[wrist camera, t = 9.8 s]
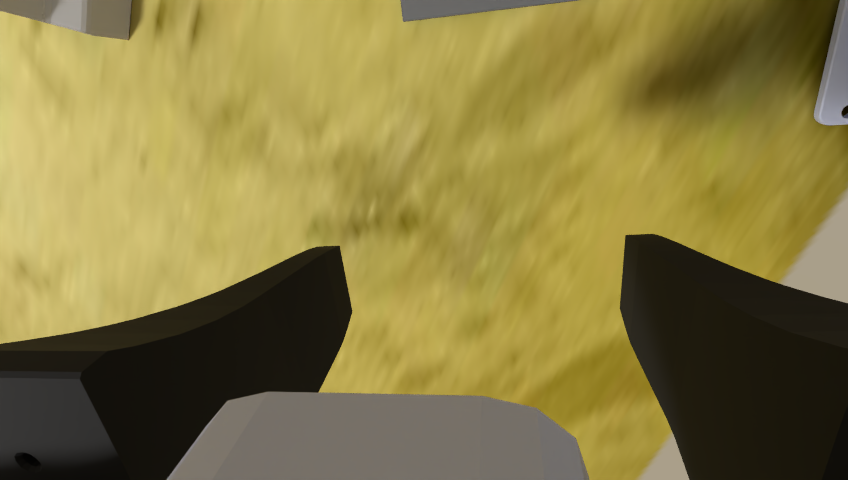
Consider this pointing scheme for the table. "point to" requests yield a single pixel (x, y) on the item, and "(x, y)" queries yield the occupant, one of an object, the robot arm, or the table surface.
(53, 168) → the table surface
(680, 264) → the robot arm
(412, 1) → the mat
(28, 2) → the hinge
